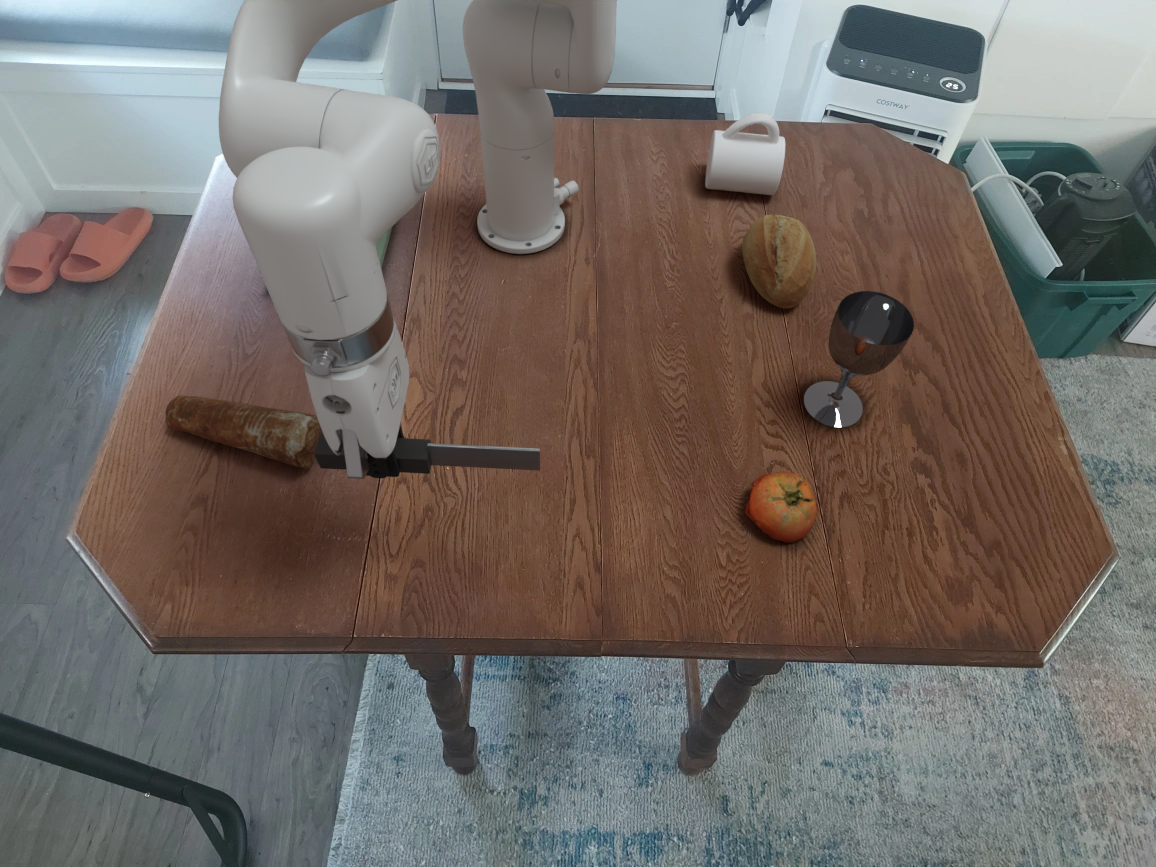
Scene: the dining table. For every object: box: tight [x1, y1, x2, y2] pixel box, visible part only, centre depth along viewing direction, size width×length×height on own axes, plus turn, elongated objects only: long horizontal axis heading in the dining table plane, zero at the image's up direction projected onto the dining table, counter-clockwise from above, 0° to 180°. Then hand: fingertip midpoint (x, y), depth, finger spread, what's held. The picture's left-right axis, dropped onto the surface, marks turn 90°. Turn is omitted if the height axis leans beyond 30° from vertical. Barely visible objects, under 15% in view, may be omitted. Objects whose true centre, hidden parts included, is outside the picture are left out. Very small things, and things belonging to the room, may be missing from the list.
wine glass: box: [803, 290, 915, 429], centre depth 86 cm, size 8×8×15 cm
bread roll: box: [741, 213, 817, 309], centre depth 101 cm, size 10×15×8 cm, turn 1°
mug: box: [704, 112, 787, 196], centre depth 111 cm, size 8×10×12 cm
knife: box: [314, 434, 541, 475], centre depth 68 cm, size 20×2×3 cm, turn 88°
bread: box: [165, 394, 323, 470], centre depth 85 cm, size 6×19×6 cm, turn 73°
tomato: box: [744, 471, 818, 544], centre depth 82 cm, size 8×7×7 cm
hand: (385, 459), depth 69 cm, fingers closed on knife, 2 cm apart
